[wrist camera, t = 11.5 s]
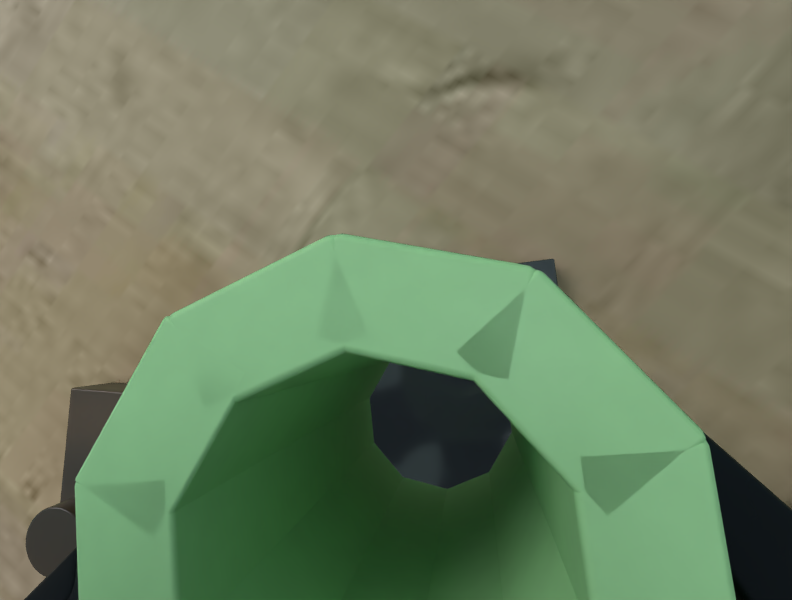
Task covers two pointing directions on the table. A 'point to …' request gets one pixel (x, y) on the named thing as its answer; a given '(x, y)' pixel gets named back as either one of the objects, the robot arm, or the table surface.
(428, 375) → the slate coaster
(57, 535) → the stacking stand
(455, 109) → the table surface
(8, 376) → the table surface
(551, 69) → the table surface
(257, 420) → the green faceted hollow cylinder
